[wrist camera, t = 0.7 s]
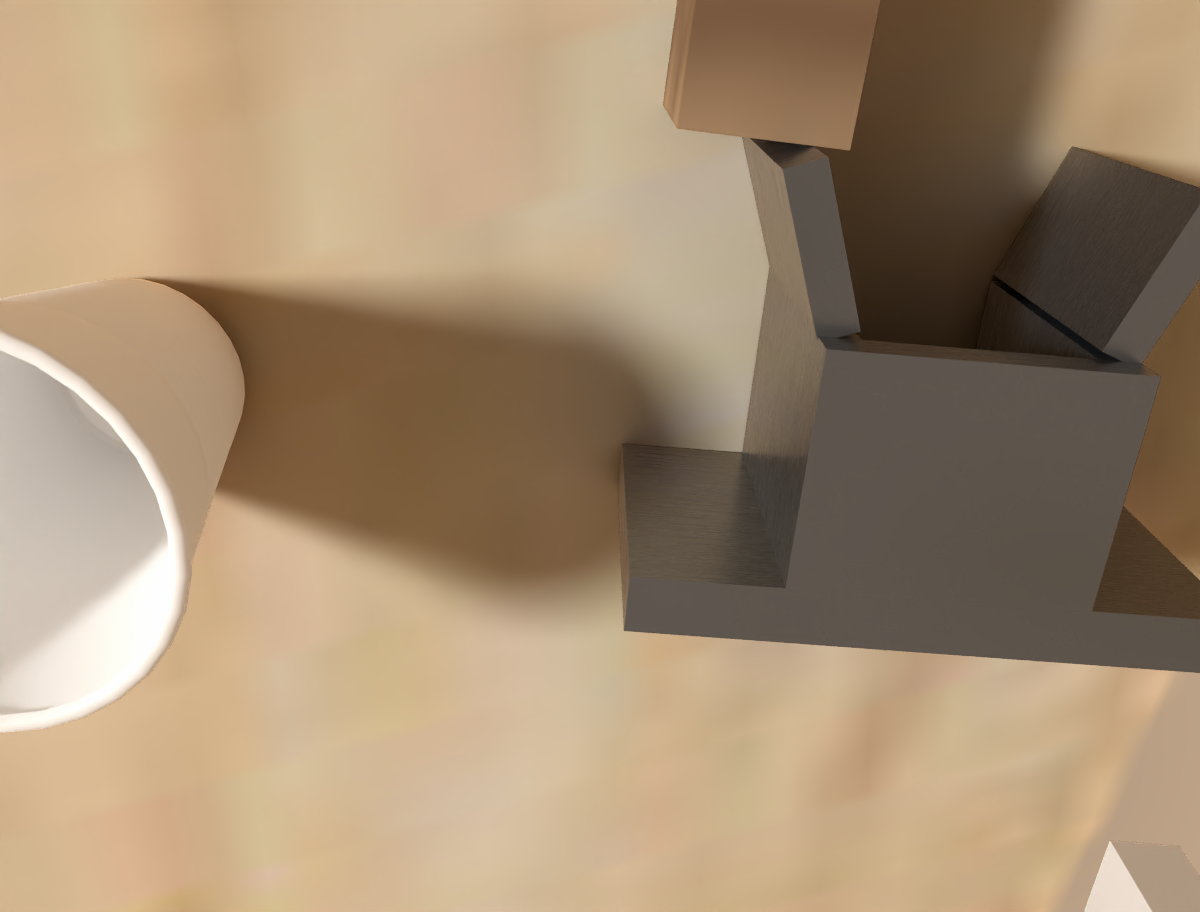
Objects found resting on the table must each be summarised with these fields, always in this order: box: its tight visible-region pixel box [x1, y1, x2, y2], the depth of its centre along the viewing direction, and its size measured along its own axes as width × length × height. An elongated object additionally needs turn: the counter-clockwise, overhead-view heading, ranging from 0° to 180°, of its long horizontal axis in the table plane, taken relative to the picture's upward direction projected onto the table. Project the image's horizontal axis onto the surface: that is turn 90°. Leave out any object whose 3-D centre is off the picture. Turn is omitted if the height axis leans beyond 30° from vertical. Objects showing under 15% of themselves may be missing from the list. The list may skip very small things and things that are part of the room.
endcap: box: [618, 137, 1200, 673], centre depth 29 cm, size 12×15×8 cm
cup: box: [0, 277, 245, 733], centre depth 28 cm, size 10×10×11 cm
